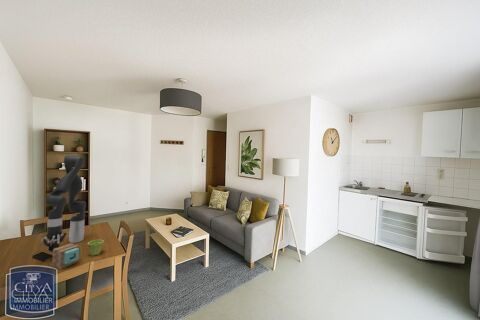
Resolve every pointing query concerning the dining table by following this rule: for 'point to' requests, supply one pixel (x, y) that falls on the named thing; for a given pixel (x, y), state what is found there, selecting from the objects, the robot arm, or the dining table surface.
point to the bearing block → (62, 255)
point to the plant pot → (95, 247)
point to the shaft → (54, 245)
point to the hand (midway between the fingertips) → (53, 250)
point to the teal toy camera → (68, 259)
